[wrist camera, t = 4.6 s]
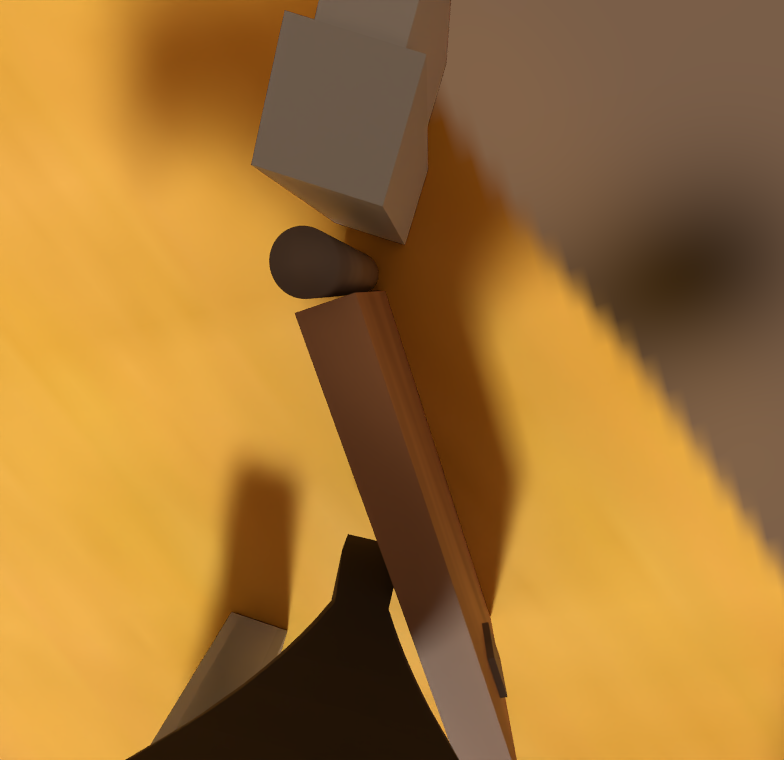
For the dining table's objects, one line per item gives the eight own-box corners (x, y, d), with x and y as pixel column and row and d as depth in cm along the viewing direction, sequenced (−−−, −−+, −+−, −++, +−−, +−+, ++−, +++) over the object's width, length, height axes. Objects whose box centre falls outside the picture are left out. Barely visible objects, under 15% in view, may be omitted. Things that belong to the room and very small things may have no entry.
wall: (458, 67, 10) (490, -167, 5) (195, 933, 16) (90, 1220, 11) (382, 44, 10) (332, -215, 5) (150, 917, 17) (26, 1196, 11)
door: (376, 245, 11) (334, 211, 6) (495, 618, 13) (535, 819, 8) (327, 262, 11) (249, 243, 6) (452, 627, 13) (465, 828, 8)
